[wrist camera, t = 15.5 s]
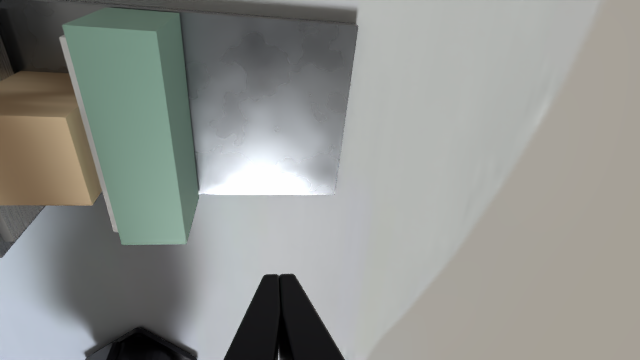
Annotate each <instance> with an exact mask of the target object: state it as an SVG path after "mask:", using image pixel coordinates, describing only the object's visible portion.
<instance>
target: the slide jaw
mask: <svg viewBox="0 0 640 360" xmlns="http://www.w3.org/2000/svg"><path fill="white" fill-rule="evenodd" d="M62 27H63V30H64V34H65V35H63V36H60V37H59V39H60V42H61V46H62V50H63V53H64V57H65V60H66V64H67V67H68V71H69V74H70V78H71V82H72V85H73V89H74V92H75V96H76V99H77V103H78V106H79V110H80V114H81V117H82V121H83V124H84V128H85V131H86V135H87V139H88V142H89V146H90V149H91V153H92V156H93V160H94V163H95V167H96V171H97V174H98V178H99V181H100V185H101V188H102V192H103V196H104V199H105V203H106V206H107V210H108V213H109V217H110V220H111V224H112V228H113V231H114V232H118V233H119V236H120V240H121V244H122V245H165V244H187V240H188V237H189V233H190V229H191V225H192V221H193V218H194V214H195V210H196V206H197V203H198V199H199V193H198V184H197V174H196V165H195V156H194V146H193V137H192V128H191V118H190V109H189V100H188V90H187V81H186V72H185V62H184V53H183V44H182V34H181V25H180V16H179V13H172V12H159V11H147V10H134V9H121V8H108V7H105V8H103V9H100V10H98V11H95V12H93V13H90V14H88V15H85V16H83V17H81V18H78V19H76V20H73V21H71V22H68V23H66V24H63V25H62Z"/></svg>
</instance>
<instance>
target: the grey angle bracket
mask: <svg viewBox="0 0 640 360" xmlns="http://www.w3.org/2000/svg"><path fill="white" fill-rule="evenodd" d="M105 7H108V8H121V9H134V10H147V11H159V12H172V13H179V16H180V25H181V34H182V44H183V53H184V62H185V72H186V81H187V90H188V100H189V109H190V118H191V128H192V137H193V146H194V156H195V165H196V174H197V184H198V193H199V194H239V195H335V189H336V181H337V174H338V167H339V160H340V153H341V146H342V139H343V132H344V124H345V117H346V110H347V103H348V96H349V89H350V82H351V75H352V67H353V60H354V53H355V46H356V39H357V32H358V25H357V24H353V23H341V22H328V21H316V20H303V19H291V18H278V17H266V16H253V15H241V14H228V13H216V12H203V11H190V10H178V9H165V8H153V7H140V6H128V5H115V4H103V3H90V2H78V1H65V0H0V81H2V80H4V79H6V78H8V77H10V76H12V75H14V74H16V73H18V72H19V71H31V72H51V73H69V71H68V67H67V64H66V60H65V57H64V53H63V50H62V46H61V42H60V39H59V37H60V36H63V35H65V34H64V30H63V27H62V25H63V24H66V23H68V22H71V21H73V20H76V19H78V18H81V17H83V16H85V15H88V14H90V13H93V12H95V11H98V10H100V9H103V8H105ZM100 194H103V192H101V193H100ZM45 206H46V205H0V258H2V257H3V256H4V255H5V254H6V252H7V251H8V250H9V249H10V248H11V246H12V245H13V244H14V243H15V242H16V240H17V239H18V238H19V237H20V236H21V235H22V233H23V232H24V231H25V230H26V229H27V227H28V226H29V225H30V224H31V223H32V221H33V220H34V219H35V218H36V217H37V216H38V214H39V213H40V212H41V211H42V210H43V208H44V207H45Z"/></svg>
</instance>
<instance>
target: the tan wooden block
mask: <svg viewBox="0 0 640 360" xmlns="http://www.w3.org/2000/svg"><path fill="white" fill-rule="evenodd" d="M101 192H102V188H101V185H100V181H99V178H98V174H97V171H96V167H95V163H94V160H93V156H92V153H91V149H90V146H89V142H88V139H87V135H86V131H85V128H84V124H83V121H82V117H81V114H80V110H79V106H78V103H77V99H76V96H75V92H74V89H73V85H72V82H71V78H70V74H69V73H51V72H31V71H19V72H18V73H16V74H14V75H12V76H10V77H8V78H6V79H4V80H2V81H0V205H93V204H94V202H95V201H96V199H97V198H98V196H99V195H100V193H101Z"/></svg>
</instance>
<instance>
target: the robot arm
mask: <svg viewBox="0 0 640 360" xmlns="http://www.w3.org/2000/svg"><path fill="white" fill-rule="evenodd" d="M278 353H279V359H280V360H345V359H344V357H343V356H342V354H341V352H340V351H339V349H338V347H337V346H336V344H335V342H334V340H333V339H332V337H331V335H330V334H329V332H328V330H327V329H326V327H325V325H324V324H323V322H322V320H321V318H320V317H319V315H318V313H317V312H316V310H315V308H314V307H313V305H312V303H311V302H310V300H309V298H308V296H307V295H306V293H305V291H304V290H303V288H302V286H301V285H300V283H299V281H298V280H297V278H296V276H295V275H294V274H281V275H280V276H279V275H277V274H266V275H264V276H263V278H262V280H261V282H260V284H259V286H258V288H257V290H256V293H255V295H254V297H253V299H252V301H251V303H250V305H249V307H248V309H247V311H246V314H245V316H244V318H243V320H242V322H241V324H240V326H239V328H238V330H237V333H236V335H235V337H234V339H233V341H232V343H231V345H230V347H229V349H228V351H227V354H226V356H225V358H224V360H278ZM85 360H197V358H195V357H194V356H192V355H190V354H188V353H187V352H185V351H183V350H181V349H179V348H178V347H176V346H174V345H172V344H170V343H169V342H167V341H165V340H163V339H161V338H160V337H158V336H156V335H154V334H153V333H151V332H149V331H147V330H145V329H143V328H136V329H134V330H132V331H131V332H129V333H127V334H126V335H124V336H122V337H121V338H119V339H117V340H116V341H114V342H112V343H110V344H109V345H107V346H105V347H104V348H102V349H100V350H99V351H97V352H95V353H94V354H92V355H91V356H89V357H87V358H86V359H85Z"/></svg>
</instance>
